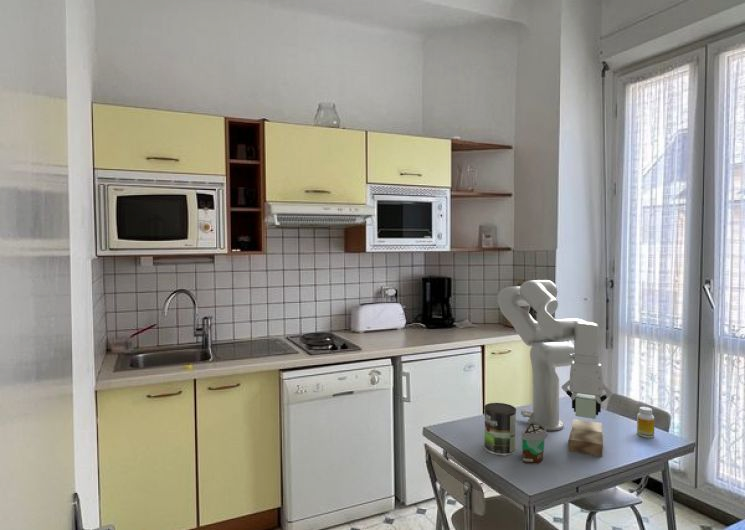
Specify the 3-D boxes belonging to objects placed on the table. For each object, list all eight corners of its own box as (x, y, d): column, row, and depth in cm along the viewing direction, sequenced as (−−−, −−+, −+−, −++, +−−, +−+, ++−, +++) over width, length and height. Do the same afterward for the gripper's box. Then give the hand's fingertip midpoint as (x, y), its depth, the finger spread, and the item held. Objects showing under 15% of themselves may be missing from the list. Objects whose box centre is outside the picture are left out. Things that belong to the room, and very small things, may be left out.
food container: (542, 469, 138) (542, 437, 138) (521, 464, 142) (521, 432, 141) (550, 454, 149) (550, 424, 149) (530, 450, 152) (531, 420, 152)
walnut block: (568, 451, 152) (568, 439, 152) (571, 440, 161) (571, 429, 160) (601, 457, 147) (602, 445, 147) (603, 446, 156) (603, 434, 156)
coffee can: (497, 458, 146) (497, 414, 146) (477, 445, 156) (478, 404, 155) (522, 452, 150) (522, 410, 150) (502, 440, 160) (502, 400, 159)
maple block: (571, 439, 152) (571, 427, 152) (572, 430, 160) (572, 418, 160) (601, 444, 148) (602, 432, 148) (601, 434, 156) (601, 423, 156)
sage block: (575, 416, 152) (575, 398, 152) (577, 410, 157) (577, 393, 157) (595, 419, 149) (595, 400, 149) (596, 413, 154) (596, 395, 154)
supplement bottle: (656, 438, 161) (657, 411, 161) (640, 437, 162) (640, 410, 162) (650, 432, 166) (651, 406, 166) (634, 431, 167) (634, 405, 167)
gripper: (557, 358, 154) (557, 411, 154) (615, 364, 145) (614, 420, 146) (560, 354, 160) (560, 405, 161) (615, 359, 152) (615, 413, 152)
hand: (586, 411), depth 153 cm, fingers closed on sage block, 6 cm apart
